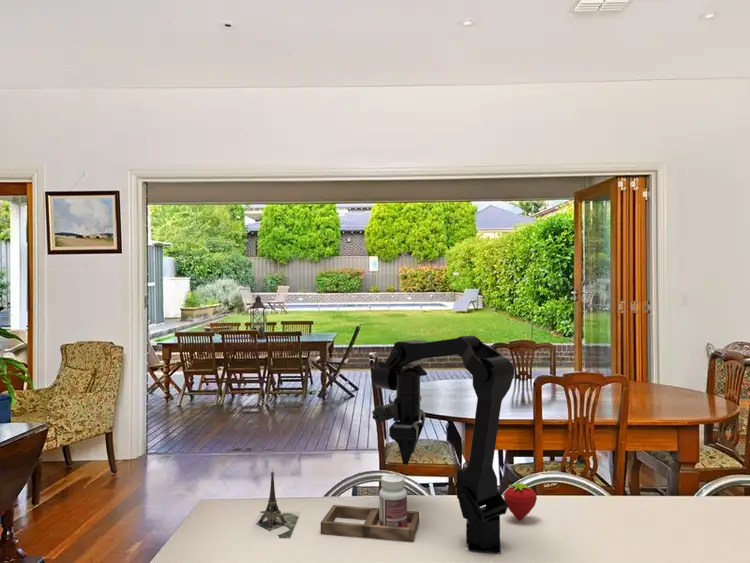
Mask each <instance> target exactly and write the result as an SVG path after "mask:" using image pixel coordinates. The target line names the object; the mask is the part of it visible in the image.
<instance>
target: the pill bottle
mask: <svg viewBox="0 0 750 563" xmlns="http://www.w3.org/2000/svg"><path fill="white" fill-rule="evenodd" d="M380 485H381V488H380V490H379V492H378V494H379V495H378V497H379V498H378V499H379V501H378V502H379V503H378V504H379V506H378V507H379V521H378V523H379V522H380V523H379V524H380V526H392V527H404V528H407V511H408V492H407V490H406V488H405V485H406V484H405V477H404V476H403V475H401V474H395V473H390V474H384V475H383V476H381V479H380Z"/></svg>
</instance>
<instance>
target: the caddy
mask: <svg viewBox="0 0 750 563" xmlns="http://www.w3.org/2000/svg"><path fill="white" fill-rule="evenodd" d="M337 518H338V519H349V520H350V519H351V520H360V521H361V520H364V523H356V522H355V523H353V522H341V521H335V520H336V519H337ZM379 523H380V522H379V508H378V507H367V506H365V507H364V506H355V505H354V506H351V505H341V504H340V505H339V504H338V505H337V504H333V505H332V506H331V507H330V509H329V510H328V511H327V513H326V515H325V516H324V517H323V519H321V521H320V535H326V536H327V535H330V536H337V537H338V536H339V537H351V538H361V539H372V540H373V539H374V540H383V541H398V542H407V543H408V542H409V543H414V542H415V537H416V534H417V531H418V528H419V525H420V511H418V510H407V528H404V527H392V526H380V524H379Z"/></svg>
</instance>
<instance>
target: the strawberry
mask: <svg viewBox="0 0 750 563" xmlns="http://www.w3.org/2000/svg"><path fill="white" fill-rule="evenodd" d="M519 481H520V479H518V480H517V482H516V481H515V482H514V484H508V485H507V487H508V488H507V489H506V490H505V491H504V495H503V499H504V500H505V502H506V503H507V505H508V508H507V509H508V510H509V511H510V513H511V514H512V515H513V516H514V517H515V518H516V519H517V520H518V521H522V520H524V519H525V518H526V517H527V516H528V514H530V512H531V511H532V510H533V508H535V505H536V502H537V500H538V498H537V493H536V492H535V491H534V490H533V489H532V487H530V484H524V483H519Z"/></svg>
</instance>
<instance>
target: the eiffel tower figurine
mask: <svg viewBox="0 0 750 563" xmlns="http://www.w3.org/2000/svg"><path fill="white" fill-rule="evenodd" d="M271 468H272V470H271V472H270V475H271V476H270V489H269V499H268V501H267V506H266V508H265V510H261V511H259V514H262V515H261V517H260V518H259V520H258V521H257V522H256V523H255V525H257V526H259V527H261V528H262V529H264V530H267V531H268V532H270V531H273V530H276V529H277V530H278V529H279V528H281V527H285V528H288V529H289V530H287V531H285V532H283V533H280V534H277V537H278V538H279V539H290V538H291V537H292V534H293V532H294V529H295V527H296V524H297V522H298V520H299V516H298V515H296V514H294V513H289V512H282V511H281V510H279V507H278V504H277V501H278V500H277V499H276V490H275V472H274V471H273V470H274V468H273V467H271ZM265 519H266V520H265Z"/></svg>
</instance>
